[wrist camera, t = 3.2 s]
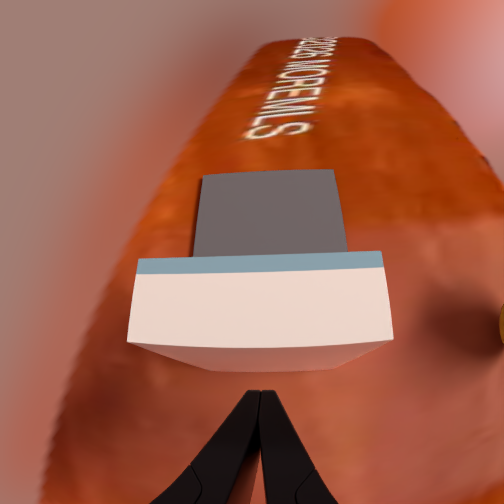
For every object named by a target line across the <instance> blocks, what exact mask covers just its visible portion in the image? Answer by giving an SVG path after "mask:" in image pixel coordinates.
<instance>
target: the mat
mask: <svg viewBox="0 0 504 504" xmlns="http://www.w3.org/2000/svg"><path fill="white" fill-rule="evenodd" d="M336 252H348V249H347V242H346V236H345V230H344V223H343V218H342V212H341V206H340V201H339V195H338V190H337V185H336V180H335V175H334V170H333V169H324V170H280V171H258V172H241V173H226V174H214V175H203V182H202V189H201V196H200V203H199V211H198V218H197V226H196V235H195V243H194V252H193V257H216V256H247V255H278V254H307V253H336Z"/></svg>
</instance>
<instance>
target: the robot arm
mask: <svg viewBox="0 0 504 504" xmlns="http://www.w3.org/2000/svg"><path fill="white" fill-rule="evenodd" d="M260 450H261V461H262V471H263V481H264V490H265V500H266V504H338V502H337V501H336V500H335V498H334V497H333V496H332V494H331V493H330V492H329V490H328V488H327V487H326V485H325V483H324V482H323V480H322V479H321V477H320V475H319V473H318V471H317V470H316V469H315V466H314V464H313V462H312V461H311V459H310V457H309V455H308V453H307V451H306V449H305V447H304V446H303V444H302V442H301V440H300V438H299V436H298V434H297V432H296V430H295V428H294V427H293V425H292V423H291V421H290V419H289V417H288V415H287V413H286V411H285V409H284V407H283V405H282V403H281V401H280V399H279V397H278V395H277V393H276V391H275V390H262V391H260V390H248V391H246V393H245V394H244V395H243V397H242V398H241V399H240V401H239V402H238V404H237V405H236V406H235V408H234V409H233V410H232V412H231V413H230V414H229V415H228V417H227V418H226V419H225V421H224V422H223V423H222V425H221V426H220V427H219V428H218V430H217V431H216V432H215V434H214V435H213V436H212V437H211V439H210V440H209V441H208V442H207V444H206V445H205V446H204V447H203V449H202V450H201V451H200V452H199V453H198V455H197V456H196V457H195V458H194V460H193V461H192V462H191V463H190V465H188V467H187V468H186V469H185V470H184V471H183V472H182V474H181V475H180V476H179V477H178V478H177V479H176V480H175V481H174V482H173V483H172V484H171V485H170V486H169V487H168V488H167V489H166V490H165V491H164V492H162V493H161V494H160V495H159V496H158V497H157V498H155V499H154V500H153V501H152V502H151V503H149V504H250V501H251V496H252V492H253V487H254V483H255V478H256V473H257V468H258V463H259V458H260Z"/></svg>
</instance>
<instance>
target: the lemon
mask: <svg viewBox="0 0 504 504" xmlns="http://www.w3.org/2000/svg"><path fill="white" fill-rule="evenodd" d="M499 329H500V335H501V339H502V342H503V344H504V304H503V306H502V309H501V314H500V320H499Z"/></svg>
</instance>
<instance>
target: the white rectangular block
mask: <svg viewBox="0 0 504 504" xmlns="http://www.w3.org/2000/svg"><path fill="white" fill-rule="evenodd" d="M391 340H393V329H392V320H391V312H390V304H389V297H388V290H387V283H386V277H385V271H384V265H383V260H382V254H381V251H364V252H336V253H307V254H278V255H247V256H216V257H184V258H150V259H139V261H138V267H137V272H136V278H135V284H134V291H133V297H132V304H131V312H130V319H129V328H128V336H127V342H129V343H131V344H134V345H136V346H139V347H142V348H144V349H147V350H150V351H152V352H155V353H158V354H161V355H163V356H166V357H169V358H172V359H175V360H178V361H181V362H184V363H187V364H190V365H193V366H196V367H199V368H203V369H206V370H209V371H226V372H290V371H313V370H329V369H334V368H336V367H338V366H340V365H343V364H345V363H347V362H349V361H351V360H353V359H356V358H358V357H360V356H362V355H364V354H366V353H368V352H370V351H372V350H374V349H376V348H378V347H380V346H382V345H384V344H386V343H388V342H390V341H391Z"/></svg>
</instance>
